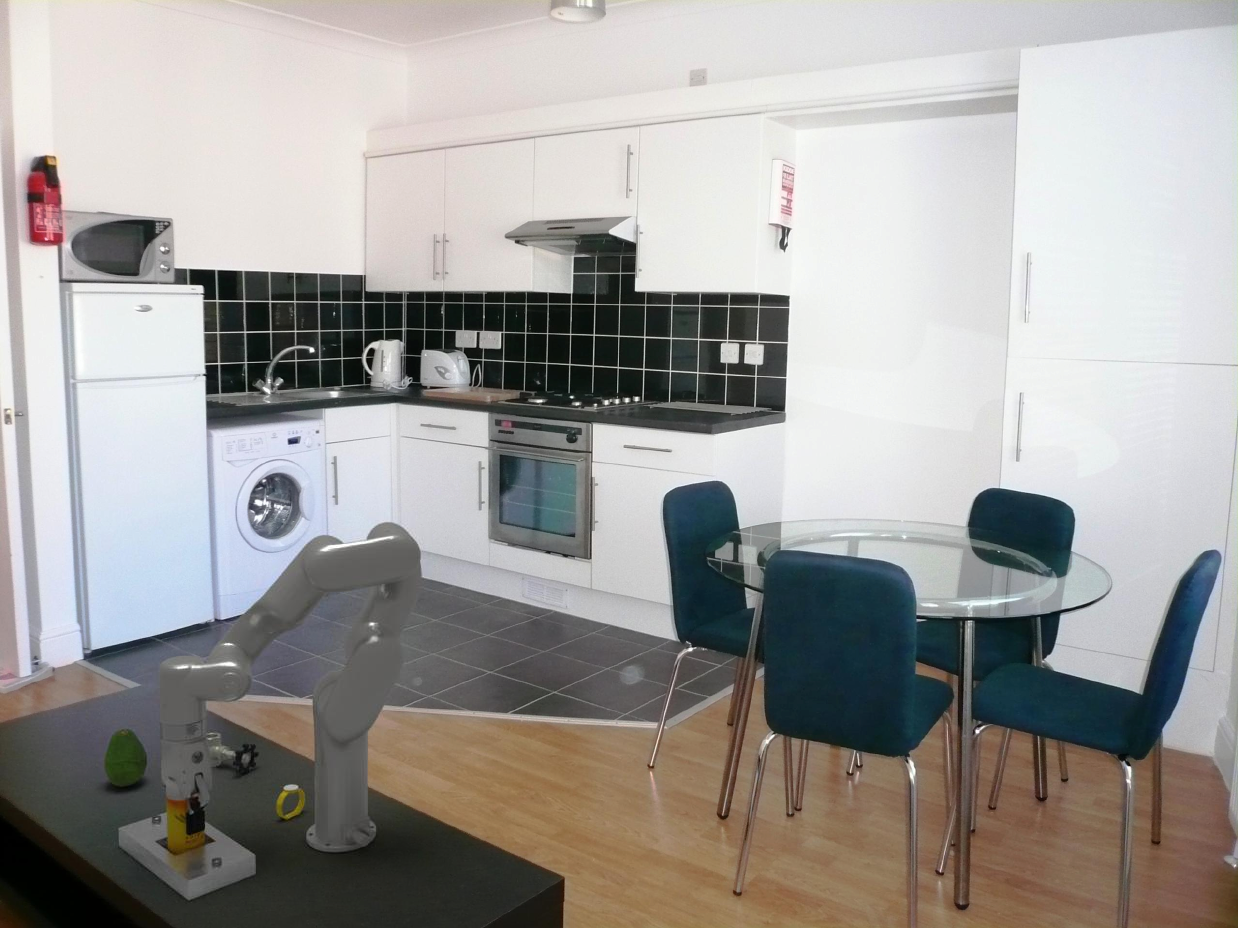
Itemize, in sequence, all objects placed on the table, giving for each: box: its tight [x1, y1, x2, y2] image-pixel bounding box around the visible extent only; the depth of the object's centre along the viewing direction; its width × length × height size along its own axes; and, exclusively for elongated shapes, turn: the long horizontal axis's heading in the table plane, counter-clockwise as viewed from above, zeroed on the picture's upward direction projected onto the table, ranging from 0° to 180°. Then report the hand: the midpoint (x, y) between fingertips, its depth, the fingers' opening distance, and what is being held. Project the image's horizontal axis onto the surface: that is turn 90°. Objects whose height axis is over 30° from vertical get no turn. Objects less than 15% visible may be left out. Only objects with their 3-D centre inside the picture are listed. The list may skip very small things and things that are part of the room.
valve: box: [205, 732, 260, 775], centre depth 225 cm, size 7×7×12 cm
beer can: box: [165, 777, 205, 856], centre depth 186 cm, size 6×6×15 cm
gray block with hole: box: [118, 811, 257, 901], centre depth 187 cm, size 26×12×4 cm, turn 49°
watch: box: [275, 784, 306, 821], centre depth 205 cm, size 6×3×6 cm, turn 147°
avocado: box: [103, 728, 148, 788], centre depth 215 cm, size 8×8×12 cm
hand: (186, 824), depth 187 cm, fingers closed on beer can, 6 cm apart
